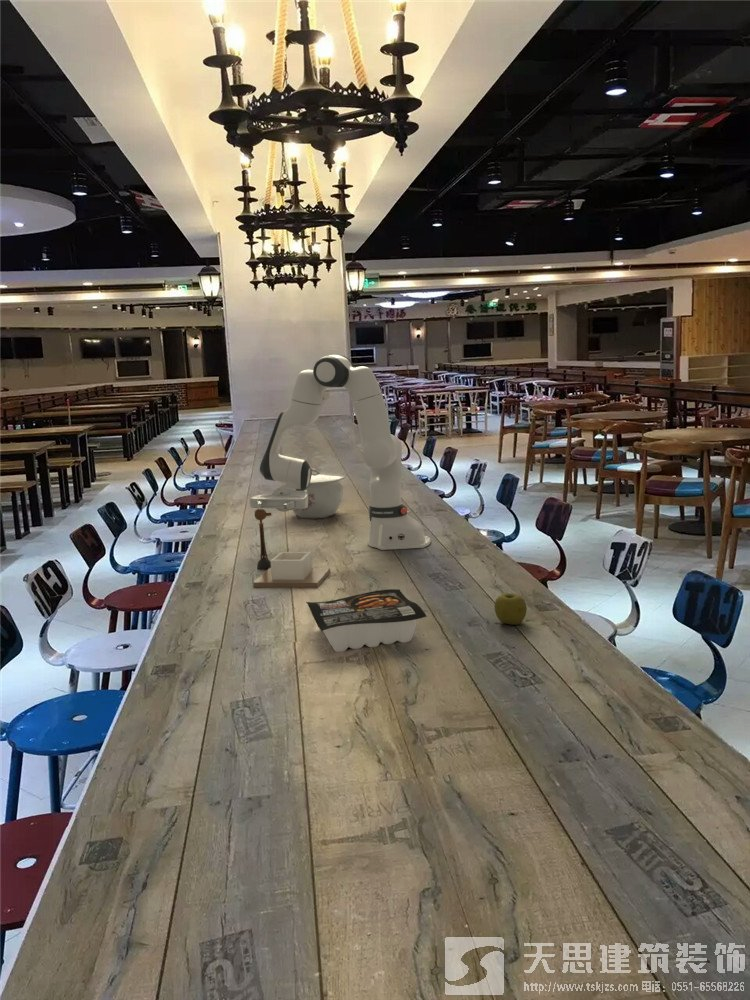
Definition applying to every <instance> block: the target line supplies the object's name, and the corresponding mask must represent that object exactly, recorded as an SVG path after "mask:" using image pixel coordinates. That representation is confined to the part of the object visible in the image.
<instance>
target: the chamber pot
mask: <svg viewBox="0 0 750 1000" xmlns="http://www.w3.org/2000/svg"><path fill="white" fill-rule="evenodd" d="M311 471H312V474H311V480H310V484H309V486H308V488H307V489H306V490H307V493H308V508H306V509H294V510H291V511H292V513H293V514H294V515H295V516H297V517H299V518H302V519H305V518H306V519H305V520H307V519H308V520H318V519H317V518H319V519H325V518H328V517H330V516H333V515H335V514H336V513H337V511H338V510H339V508H340V506H341V504H342V502H343V497H344V487H343V485H342V483H341V480H344V479H345V478H346V475H345V474H342V473H340V472H334V471H319V470H317V469H315V468H312V467H311Z"/></svg>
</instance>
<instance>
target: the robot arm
mask: <svg viewBox="0 0 750 1000" xmlns="http://www.w3.org/2000/svg"><path fill="white" fill-rule="evenodd" d="M328 388H344V389H345V390H346V391H347V392H348V396H349V398H350V402H351V406H352V408H353V412H354V414H355V418H356V421H357V422H356V423H357V425H358V429H359V430H358V431H359V438H360V442H361V447H362V448H361V449H362V456H363V457H362V458H363V461H364V462H365V464H366V465H367V466H369V467H370V477H369V478H370V479H369V483H368V484H369V486H368V487H369V490H368V491H369V503H370V504H369V506H368V515H369V522H370V529H369V536H368V542H367V545H368V546H369V547H371V548H377V549H379V550H380V551H381V550H382V551H386V550H407V549H408V550H409V549H423V548H426V547H428V546H429V545H430V544H431V538H430V537H429V536H427V535H425V532H424V527H423V526H422V524H421V523H420V522H419V521H417V520H416V519H414V518H413V517H412V516H410V515H408V506H407V504H406V505H404V504H403V503H402V497H401V494H402V493H401V477H402V476H401V475H402V458H403V457H402V454H403V453H402V451H403V447H402V446H403V445H402V442H401V440H400V439H399V438H398V437H397V436H396V435H394V434H391V433H392V432H391V428H390V421H389V420H390V419H389V413H388V409H387V407H386V403H385V399H384V397H383V393H382V390H381V387H380V384H379V382H378V380H377V378H376V376H375V374H374V372H373V370H372V369H371V368H370V367H368V366H363V365H362V366H356V367H355V365H354V363H353V361H352V359H350V358H349V357H347V356H345V355H338V354H329V355H325V356H322V357H320V358H319V359H318V360H317V361H316V362H315V363H314V366H313V369H305V370H302V371H300V372H299V373H298V374H297V376H296V379H295V382H294V385H293V389H292V393H291V400H290V402H289V405H288V407H287V408H286V409H285V410H283V411H281V412H280V413H279V415H278V417H277V419H276V421H275V425H274V426H273V430H272V433H271V436H270V438H269V441H268V444H267V446H266V450H265V452H264V454H263V457H262V459H261V461H260V464H259V472H260V474H261V476H262V477H263V478H264V479H265V480H267V481H273V482H274V481H276V482H281V483H284V484H282V485H281V486H279V487H278V488H276V489H275V490H273V492H272V494H256V495H253V496H252V497H250V498H249V508H251V509H275V510H277V511H280V512H284V513H285V512H289V511H292V510H294V509H306V508H308V493H307V490H306V489H307V488H308V486H309V484H310V480H311V474H312V472H313V471H311V469H312V467H311V465H310V464H309V462H308V461H307V460H305V459H302V458H296V457H291V456H288V455H287V456H286V455H282V454H280V449H281V446H282V444H283V440H284V437H285V435H286V433H287V432H288V431H289V430H292V429H294V428H295V429H296V428H300V427H305V426H310V425H312V424H313V423H315V422H316V421H317V420H318V419H319V418H320V415H321V411H322V406H323V400H324V396H325V392H326V390H327V389H328Z"/></svg>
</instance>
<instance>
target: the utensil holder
mask: <svg viewBox="0 0 750 1000" xmlns="http://www.w3.org/2000/svg"><path fill="white" fill-rule="evenodd" d="M270 562H271V568H269V569H268V570H265V571H264V572H263V573H262V574H261V575H260V576H259V577H257V578H256V579H255V580H254V581H253V582H252V585H253V588H295V589H296V588H298V589H299V588H301V589H303V588H311V589H313V588H315V589H318V588H319V587H320V586H321V584H322V583H323V582H324V581H325V580H326V579H327V577H328V576H329V575H330V574H331V567H313V561H312V552H311V551H280V552H278V553H277V555H275V556H273V558H272V559H271V560H270Z"/></svg>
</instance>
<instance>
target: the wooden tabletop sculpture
mask: <svg viewBox="0 0 750 1000" xmlns="http://www.w3.org/2000/svg"><path fill="white" fill-rule="evenodd" d="M269 516H272V512H271V511H269V512H267V511H266V510H265V508H262V509H258V508H256V509H255V511H254V518H255V519H256V520H257V521H259V523H258V526H259V538H260V542H259V543H260V556H259V560H258V562H257V564H256V565H257V567H256V569H257V570H259V571H267V570H268V569H269V568H271V560H270V559H269V558H268V553H267V548H266V541H265V539H266V538H265V529H264V522H263V520H265V519H266V518H267V517H269Z"/></svg>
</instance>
